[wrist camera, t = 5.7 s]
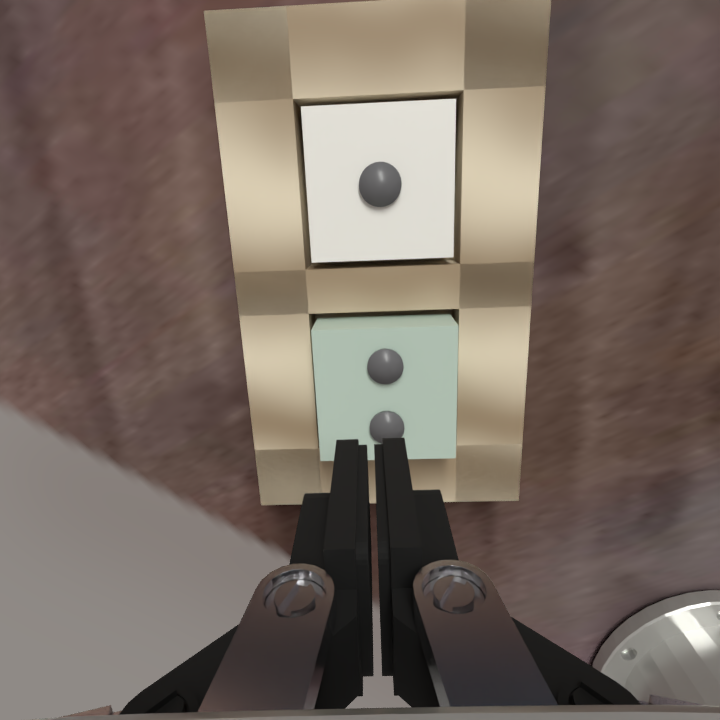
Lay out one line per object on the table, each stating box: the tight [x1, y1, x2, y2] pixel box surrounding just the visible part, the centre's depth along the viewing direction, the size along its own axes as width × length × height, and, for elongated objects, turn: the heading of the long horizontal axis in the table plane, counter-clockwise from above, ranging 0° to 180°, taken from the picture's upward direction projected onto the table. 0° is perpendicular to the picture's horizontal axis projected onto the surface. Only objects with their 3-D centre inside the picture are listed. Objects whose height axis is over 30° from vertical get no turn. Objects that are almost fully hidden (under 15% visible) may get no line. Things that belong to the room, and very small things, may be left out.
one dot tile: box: [301, 99, 456, 263], centre depth 19 cm, size 6×6×2 cm
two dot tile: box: [311, 314, 458, 461], centre depth 20 cm, size 6×6×2 cm
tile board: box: [204, 0, 551, 505], centre depth 21 cm, size 20×12×3 cm, turn 2°
